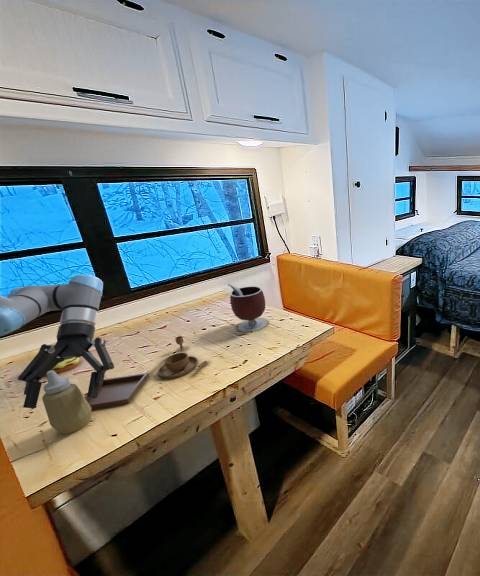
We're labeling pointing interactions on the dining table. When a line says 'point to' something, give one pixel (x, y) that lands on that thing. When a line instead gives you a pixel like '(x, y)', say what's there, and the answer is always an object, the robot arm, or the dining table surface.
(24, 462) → the dining table surface
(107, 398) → the dark brown tray
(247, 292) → the mate gourd
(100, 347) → the robot arm
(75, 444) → the dining table surface
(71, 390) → the squeeze bottle
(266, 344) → the dining table surface
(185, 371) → the place setting
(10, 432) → the dining table surface
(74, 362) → the cheeseburger
